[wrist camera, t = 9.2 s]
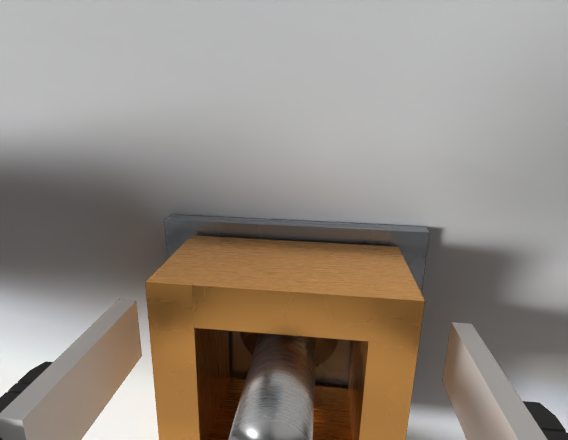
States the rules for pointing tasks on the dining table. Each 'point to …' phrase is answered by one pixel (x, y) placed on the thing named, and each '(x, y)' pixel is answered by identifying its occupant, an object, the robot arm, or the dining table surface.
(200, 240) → the square wooden frame
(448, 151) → the dining table surface
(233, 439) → the keeper
